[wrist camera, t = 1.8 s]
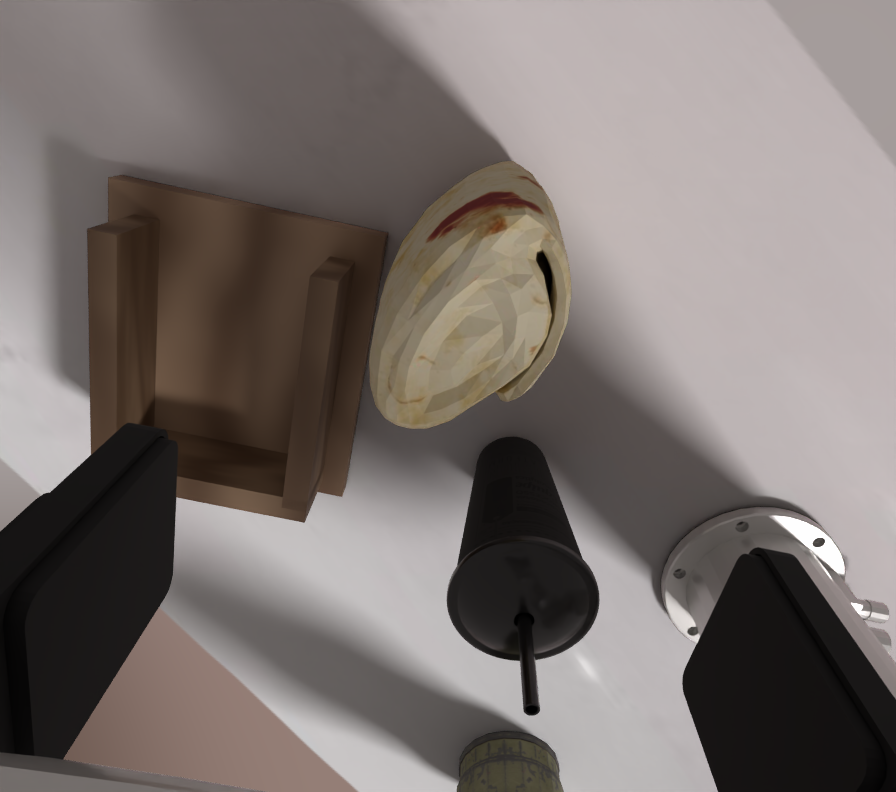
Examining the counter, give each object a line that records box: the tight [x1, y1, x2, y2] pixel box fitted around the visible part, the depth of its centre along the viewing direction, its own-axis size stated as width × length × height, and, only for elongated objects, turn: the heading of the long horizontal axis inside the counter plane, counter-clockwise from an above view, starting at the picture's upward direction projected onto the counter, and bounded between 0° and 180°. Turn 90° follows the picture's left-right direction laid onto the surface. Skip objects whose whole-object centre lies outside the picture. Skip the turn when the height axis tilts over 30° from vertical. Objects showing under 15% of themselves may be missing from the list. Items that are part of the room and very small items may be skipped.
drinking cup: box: [447, 437, 599, 715], centre depth 37 cm, size 8×8×20 cm
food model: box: [369, 161, 571, 429], centre depth 30 cm, size 10×7×20 cm
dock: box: [87, 175, 388, 523], centre depth 40 cm, size 16×18×6 cm
